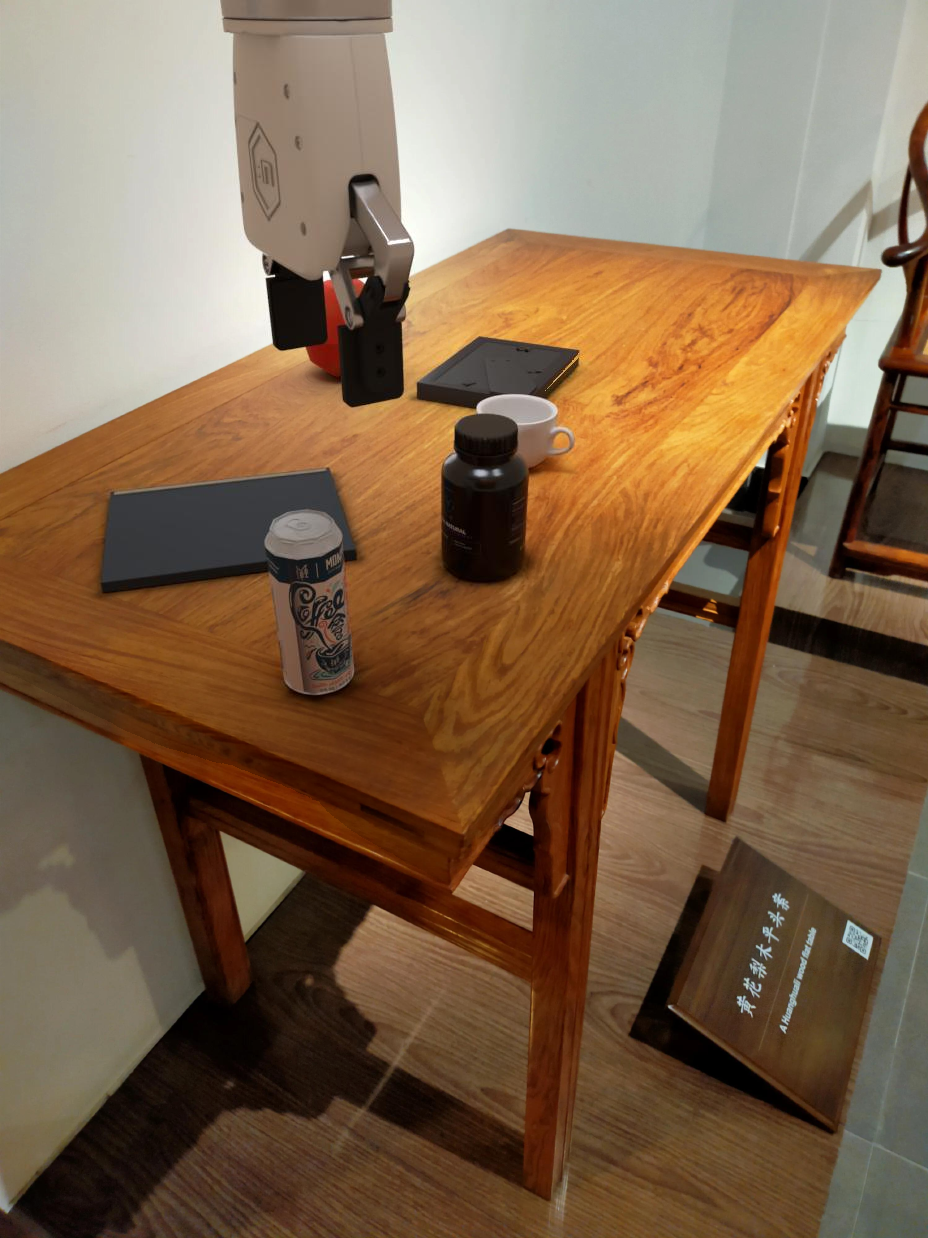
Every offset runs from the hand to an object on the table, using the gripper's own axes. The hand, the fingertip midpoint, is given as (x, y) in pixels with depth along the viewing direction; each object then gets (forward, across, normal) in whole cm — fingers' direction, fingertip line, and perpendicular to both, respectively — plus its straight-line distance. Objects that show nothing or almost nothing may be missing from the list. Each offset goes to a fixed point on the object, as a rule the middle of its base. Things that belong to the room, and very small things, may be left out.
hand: (335, 371), depth 51 cm
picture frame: (+22, -44, +39) cm, 63 cm away
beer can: (+22, -2, -2) cm, 22 cm away
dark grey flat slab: (+22, -26, -1) cm, 34 cm away
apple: (+22, -56, +24) cm, 65 cm away
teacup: (+22, -24, +29) cm, 44 cm away
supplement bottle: (+22, -10, +16) cm, 29 cm away
